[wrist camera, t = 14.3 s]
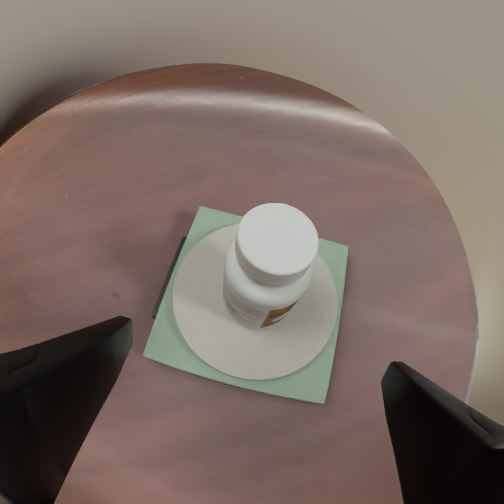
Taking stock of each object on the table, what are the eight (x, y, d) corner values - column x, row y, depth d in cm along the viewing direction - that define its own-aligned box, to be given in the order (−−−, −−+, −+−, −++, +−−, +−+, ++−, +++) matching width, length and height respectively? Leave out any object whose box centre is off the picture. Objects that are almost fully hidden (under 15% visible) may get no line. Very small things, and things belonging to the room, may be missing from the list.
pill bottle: (277, 341, 17) (314, 303, 11) (211, 314, 18) (206, 259, 11) (299, 280, 19) (340, 215, 13) (238, 256, 20) (249, 180, 13)
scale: (340, 256, 24) (351, 241, 21) (316, 403, 18) (328, 404, 16) (196, 217, 24) (194, 198, 22) (143, 357, 18) (133, 352, 16)
